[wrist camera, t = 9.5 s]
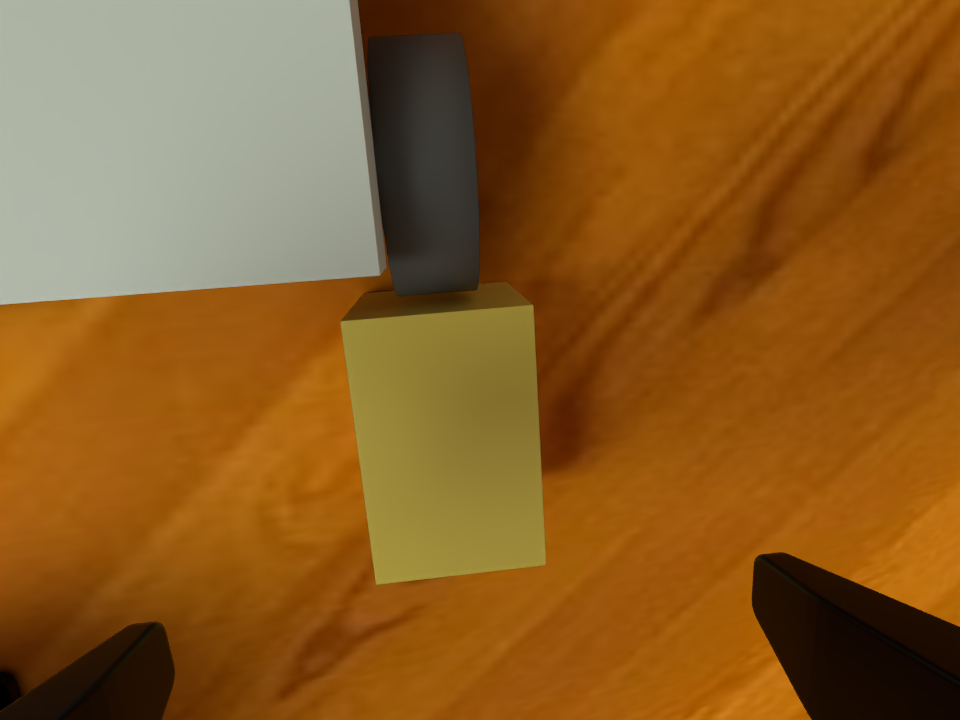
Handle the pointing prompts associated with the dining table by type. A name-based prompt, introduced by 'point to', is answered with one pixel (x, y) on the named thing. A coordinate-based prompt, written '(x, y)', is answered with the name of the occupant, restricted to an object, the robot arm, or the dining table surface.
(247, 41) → the trolley
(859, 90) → the dining table surface
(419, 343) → the chock
